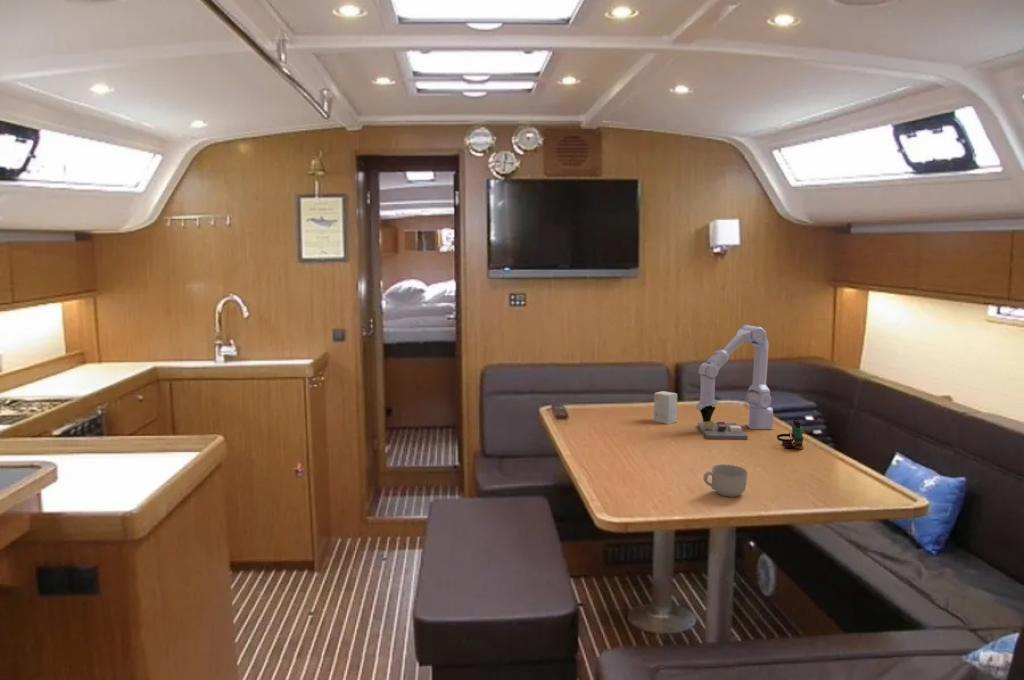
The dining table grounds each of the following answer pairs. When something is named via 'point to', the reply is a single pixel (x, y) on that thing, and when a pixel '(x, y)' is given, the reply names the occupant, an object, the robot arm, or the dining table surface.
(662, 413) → the small box
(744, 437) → the switch panel
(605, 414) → the dining table surface
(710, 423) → the block
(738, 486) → the teacup
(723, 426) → the rocker switch
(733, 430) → the push button
